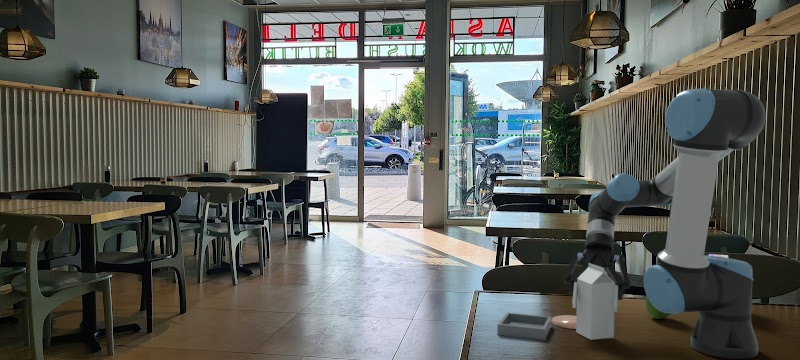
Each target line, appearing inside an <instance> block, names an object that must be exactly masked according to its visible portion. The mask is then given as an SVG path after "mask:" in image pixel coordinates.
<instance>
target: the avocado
mask: <svg viewBox="0 0 800 360" xmlns="http://www.w3.org/2000/svg"><path fill="white" fill-rule="evenodd" d="M645 295H646V294H645ZM645 308H646V310H647V312H648V315H650V316H651V317H652V318H654V319H657V320H662V319H665V318H667V317H668V318H669V316H670V315H671V314H672V313H663V312H661V311H659V310H657V309H656V308H655V307H654V306H653V305H652V304H651V302H650V301H649V299H648V296H647V295H646V296H645Z"/></svg>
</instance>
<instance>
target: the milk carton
mask: <svg viewBox="0 0 800 360" xmlns="http://www.w3.org/2000/svg"><path fill="white" fill-rule="evenodd" d="M614 297H615V282H614V281H613V280H612V278H611V276H610V275H609V273H608V272H607V271H606V269H605V268H602V267H599V266H596V265H593V264H590V263H589V267H588V268H587V269H586V270H585V271H584V272H583V273H582V274H581V275H580V276H579V277H578V278H577V301H576V316H577V319H576V329H575V330H576V331H575V332H576V334H579V335H581V336H582V337H584V338H587V339H588V340H590V341H593V340H604V339H605V340H606V339H614V338H615V312H614Z"/></svg>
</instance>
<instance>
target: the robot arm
mask: <svg viewBox="0 0 800 360" xmlns="http://www.w3.org/2000/svg"><path fill="white" fill-rule="evenodd" d="M766 115H767V114H766V109H765V106H764V104H763V102H762V101H761V99H759V97H757V96H756V94H753V93H751V91H750V92H749V91H746V90H744V89H714V88H692V89H686V90H683V91H681V92H679V93H678V94H677V96H676V97H673V98H672V100H671V101H670V102H669V105H668V106H667V108H666V112H665V118H664V125H665V128H666V133H667V134H668V135H669V137H670V138H672V139H673V141H672V146H673V147H674V149H675V150H676V151H677V152H678V154H677V155H678V156H677V157H676V158H675V159H674V160H673V161H671V163H669V164H668V165H667V166H666V167H664V169H662V170H660V172H659V173H657V174H656V175H655V176H654V177H652V178H651V179H645V180H643V179H640V180H638V179H637V178H636V177H634V176H633V175H630V174H628V173H618V174H616V175H615V176H614V178H613V179H611V180H610V181H609V182H608V184H607V186H606V187H605V188H604V189H603V191H602V190H601V191H597V192H595V193H593V194H592V195H591V196H590V199H589V204H588V212H587V213H588V214H587V226H586V236H585V237H586V238H585V246H584V248H585V249H584V251H583V252H578V251H577V250H573V251H572V259H571V260H570V264H568V267H567V269H566V271H565V274H564V276H563V282H564V284H565V285H568V286H569V291H568V292H569V296H571V297H572V300H571V301H572V302H571V304H572V309H577V278H578V277H579V276H580V275H581V274H582V273H583V272H584V271H585V270H586V269H587V268H588V267H589V263H590V264H593V265H596V266H599V267H602V268H604V270H605V271H606V272H607V273H608V276H609V277H610V278H611V279H612V280H613V281H614V282H615V297H614V313H617V312H618V305H619V304H618V303H619V301H622V300H623V293H624V290H630V288H631V280H630V278H629V274H628V271H627V268H626V265H625V254H623V253H621V254H619V255H618V254H615V253H614V241H615V240H614V239H615V225H616V218H617V216H618V215H620V213H622V211H623V210H624V209H625V208H635V207H639V208H640V207H667V206H671V207H670V212H669V221H668V228H667V235H666V242H665V248H664V249H663V250H661V251H660V252H658V253H657V258H656V264H652V265H651V266H649V267H648V268H647V269H646V270H645V272H644V274H643V288H644V291H645V295H647V296H648V299H649V301H650V302H651V304H652V305H653V306H654V307H655V308H656V309H657V310H659V311H661V312H663V313H671V314H674V315H675V314H676V315H680V314H683V313H693V312H694V313H695V312H698V317H697V321H696V323H695V325H694V326H693V327H694V328H693V330H692V332H691V334H690V346H691V348H692V349H693V350H694V351H697V352H699V353H702V354H705V355H708V356H713V357H718V358H724V359H733V360H734V359H735V360H743V359H744V360H746V359H754V358H755V357H757V356H758V354H759V343H758V340H757V338H756V333H755V330H754V328H753V324H752V308H753V307H752V302H753V286H754V283H753V282H754V278H753V277H754V276H753V267H752V265H751V264H750V263H748V262H747V261H744V260H739V259H735V258H724V257H717V256H709V254H708V255H707V254H706V255H705V250H706V243H707V238H708V230H709V224H710V218H711V217H710V216H711V211H712V204H713V197H714V192H715V187H716V186H715V185H716V178H717V172H718V167H719V166H718V165H719V162H720V161H721V160H723V159H724V158H725V157H727V156H728V155H729V154H731V153H732V152H733V151H740V150H743V149H744V148H745V147H747V146H748V145H749V144H750V143H752V142H754V141H755V140H756V138H757V137H758V136H759V135H760V133H761V132H762V130H764V126H765V124H766V118H767V116H766ZM581 259H584V262H583V264H582V265H581V266H580V267H579V268H578V270H576V268H577V267H578V263H579V262H580V261H581ZM614 261H615V263H617V264H618V267H619V270H620V275H621V278H622V280H623V281H622V280H621V278H620V276H619V275H618V273H617V272H616V269H614V267H613V266H612V262H614ZM575 270H576V272H575ZM574 272H575V273H574Z"/></svg>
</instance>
